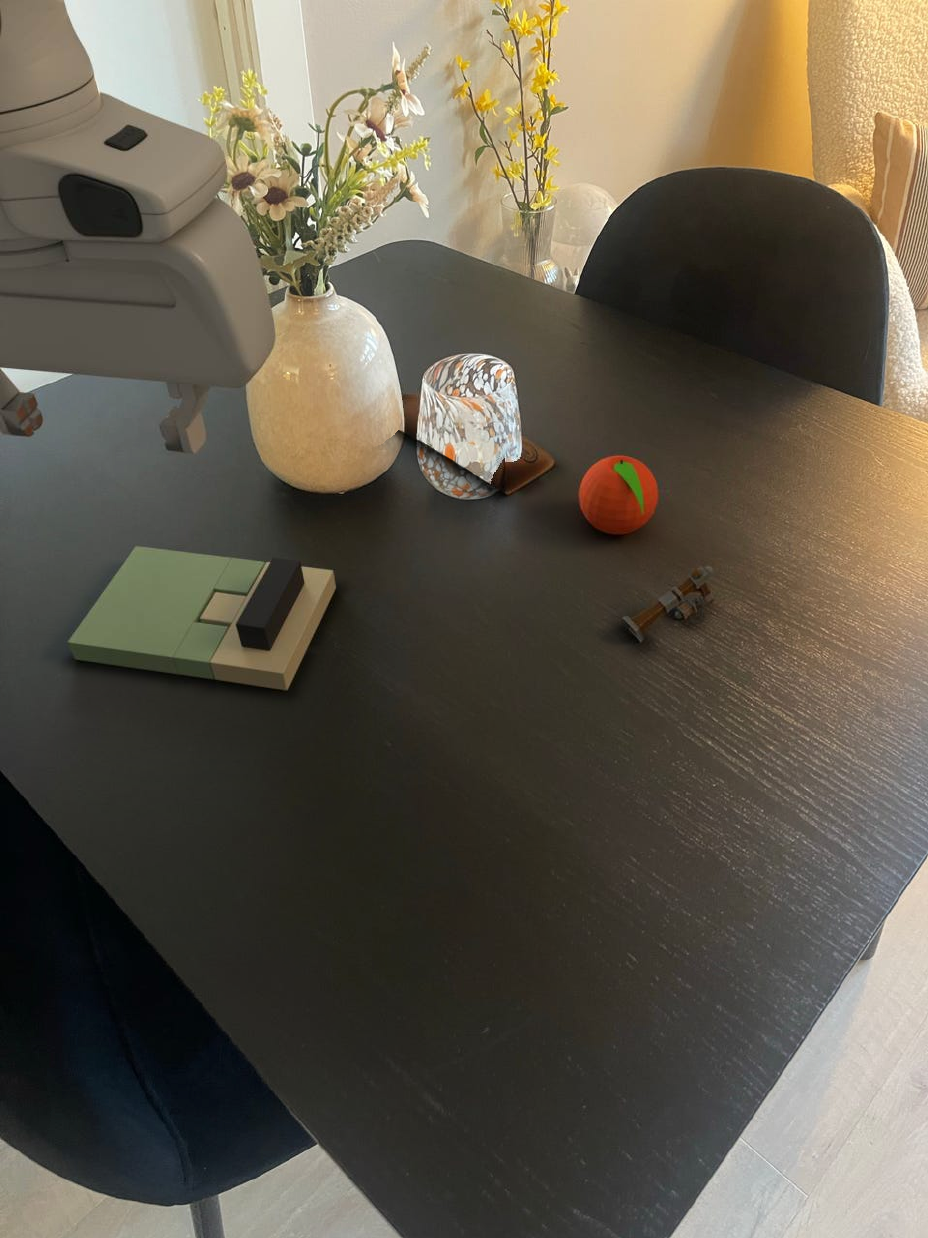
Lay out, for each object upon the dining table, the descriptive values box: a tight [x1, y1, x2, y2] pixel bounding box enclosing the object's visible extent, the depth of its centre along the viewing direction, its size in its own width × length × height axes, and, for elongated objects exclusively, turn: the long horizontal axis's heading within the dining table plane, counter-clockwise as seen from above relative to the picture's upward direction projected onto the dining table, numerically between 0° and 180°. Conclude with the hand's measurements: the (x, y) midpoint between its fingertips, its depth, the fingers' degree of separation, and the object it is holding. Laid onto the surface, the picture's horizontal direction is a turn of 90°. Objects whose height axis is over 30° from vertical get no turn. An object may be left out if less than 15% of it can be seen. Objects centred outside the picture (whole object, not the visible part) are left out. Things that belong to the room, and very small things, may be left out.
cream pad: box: [200, 556, 337, 691], centre depth 77 cm, size 12×9×4 cm
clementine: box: [578, 455, 659, 535], centre depth 84 cm, size 8×7×7 cm
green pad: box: [67, 545, 266, 680], centre depth 79 cm, size 12×12×2 cm
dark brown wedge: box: [401, 393, 556, 496], centre depth 95 cm, size 18×7×7 cm
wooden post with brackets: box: [622, 565, 715, 643], centre depth 76 cm, size 2×8×4 cm, turn 117°
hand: (104, 438), depth 50 cm, fingers open, 8 cm apart
